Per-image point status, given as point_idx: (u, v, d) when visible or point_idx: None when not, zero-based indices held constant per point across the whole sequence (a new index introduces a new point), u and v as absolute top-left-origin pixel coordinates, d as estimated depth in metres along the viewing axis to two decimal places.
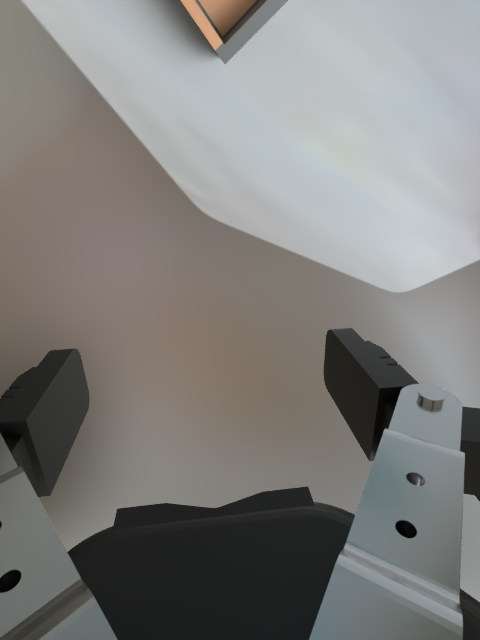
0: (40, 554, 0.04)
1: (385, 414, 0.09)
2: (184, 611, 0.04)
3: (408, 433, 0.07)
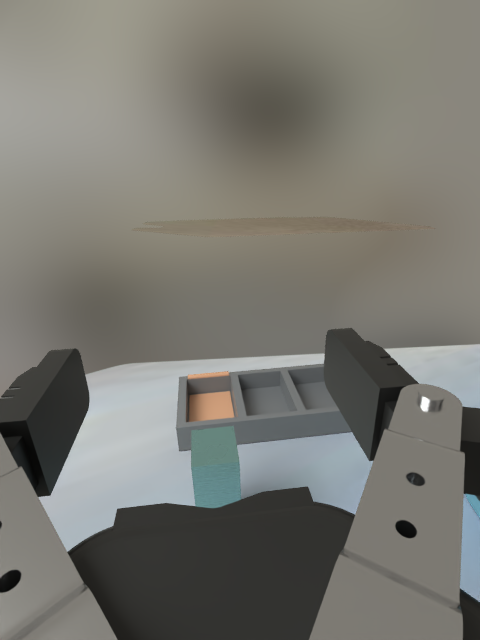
0: (40, 554, 0.04)
1: (385, 414, 0.09)
2: (185, 610, 0.04)
3: (408, 433, 0.07)
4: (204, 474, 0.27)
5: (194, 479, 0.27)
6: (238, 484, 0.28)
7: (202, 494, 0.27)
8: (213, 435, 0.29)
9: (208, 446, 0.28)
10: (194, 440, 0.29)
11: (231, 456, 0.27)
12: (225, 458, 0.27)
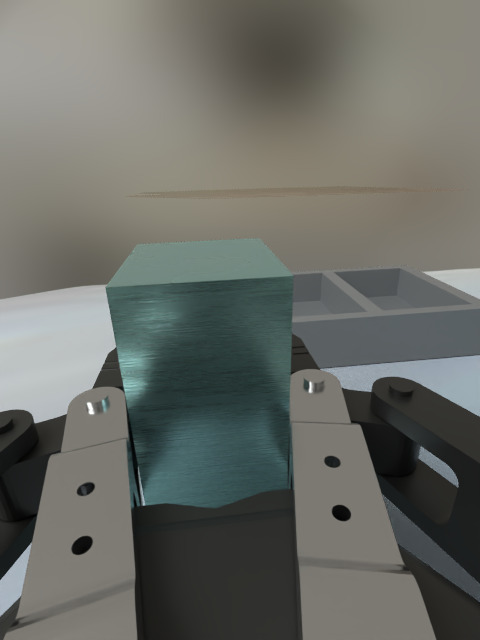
0: (112, 530, 0.05)
1: None
2: (184, 611, 0.04)
3: (307, 419, 0.07)
4: (159, 325, 0.07)
5: (123, 345, 0.07)
6: (284, 377, 0.08)
7: (158, 409, 0.08)
8: (199, 247, 0.10)
9: (183, 258, 0.09)
10: (140, 253, 0.09)
11: (262, 269, 0.07)
12: (241, 272, 0.07)
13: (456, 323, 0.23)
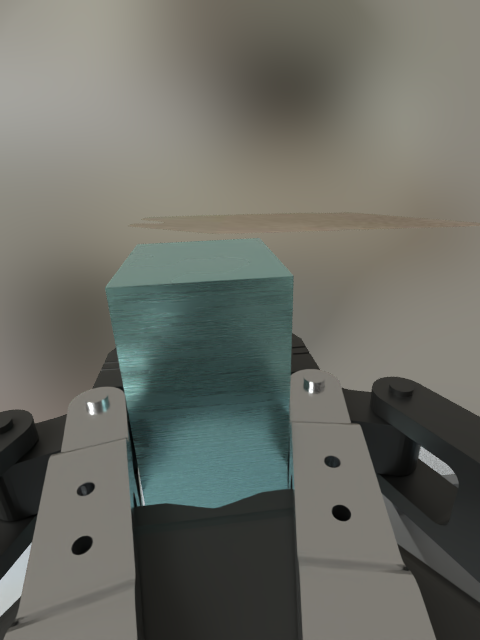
0: (112, 530, 0.05)
1: None
2: (184, 610, 0.04)
3: (307, 419, 0.07)
4: (159, 325, 0.07)
5: (122, 346, 0.07)
6: (284, 377, 0.08)
7: (158, 409, 0.08)
8: (199, 247, 0.10)
9: (183, 258, 0.08)
10: (140, 253, 0.09)
11: (262, 269, 0.07)
12: (241, 272, 0.07)
13: None
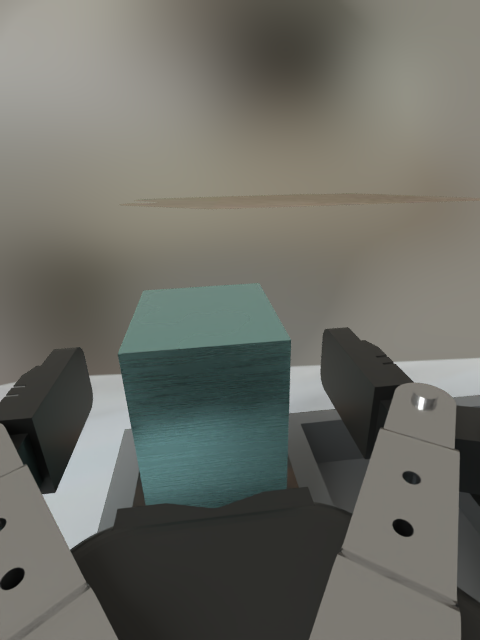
0: (43, 552, 0.04)
1: (380, 412, 0.09)
2: (184, 610, 0.04)
3: (403, 432, 0.07)
4: (167, 385, 0.08)
5: (133, 403, 0.08)
6: (282, 427, 0.08)
7: (165, 457, 0.08)
8: (202, 295, 0.10)
9: (187, 313, 0.09)
10: (146, 305, 0.10)
11: (262, 330, 0.08)
12: (243, 334, 0.08)
13: None
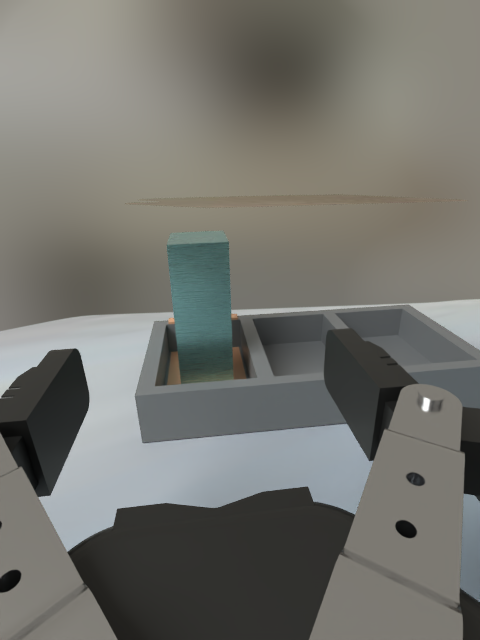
0: (40, 554, 0.04)
1: (385, 414, 0.09)
2: (184, 611, 0.04)
3: (408, 433, 0.07)
4: (183, 258, 0.21)
5: (171, 265, 0.21)
6: (227, 279, 0.22)
7: (182, 290, 0.22)
8: (197, 233, 0.23)
9: (190, 237, 0.22)
10: (173, 236, 0.23)
11: (219, 240, 0.21)
12: (211, 241, 0.21)
13: (460, 381, 0.22)
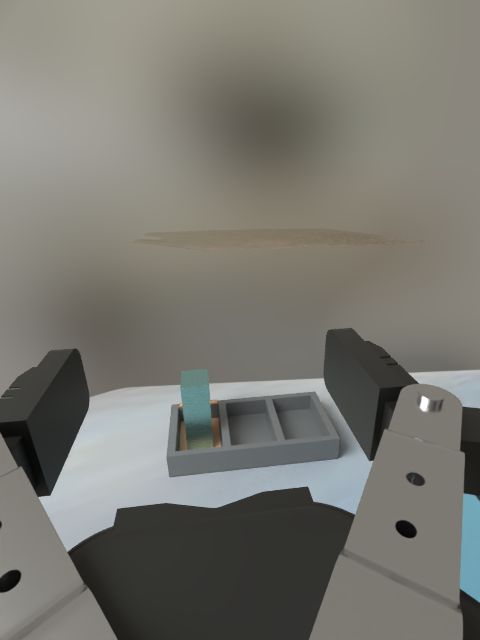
0: (40, 554, 0.04)
1: (385, 414, 0.09)
2: (184, 611, 0.04)
3: (408, 433, 0.07)
4: (188, 392, 0.45)
5: (182, 395, 0.45)
6: (208, 400, 0.46)
7: (187, 405, 0.46)
8: (194, 373, 0.48)
9: (191, 378, 0.47)
10: (183, 375, 0.47)
11: (204, 382, 0.46)
12: (201, 383, 0.45)
13: (320, 446, 0.47)
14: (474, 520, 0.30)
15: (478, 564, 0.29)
